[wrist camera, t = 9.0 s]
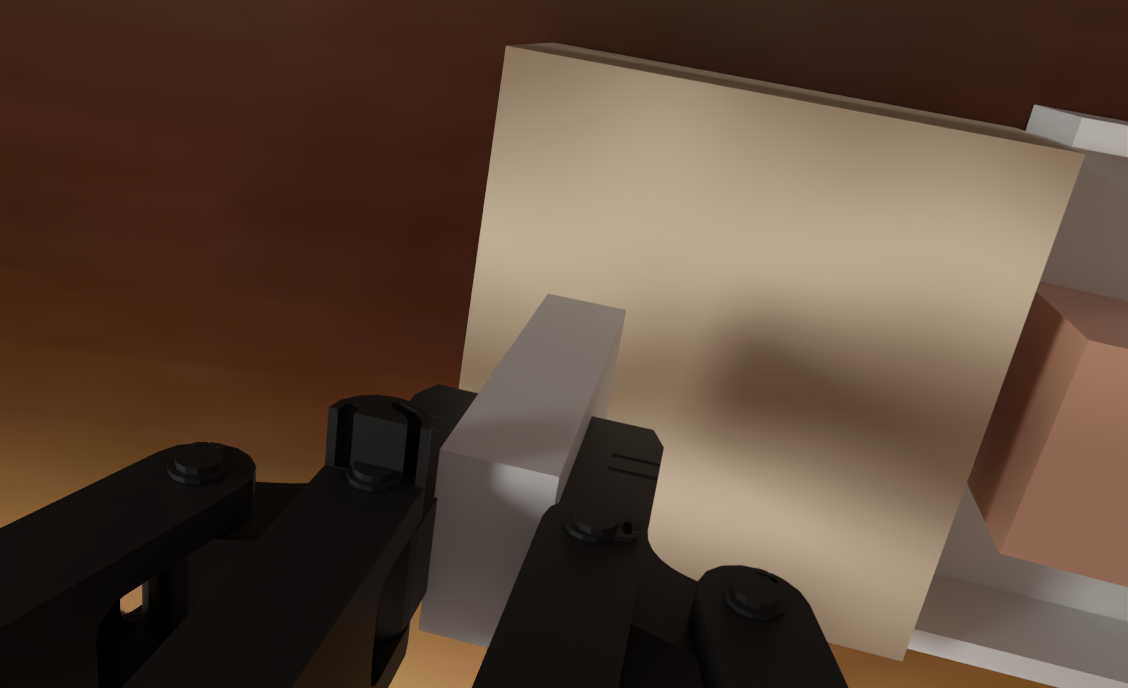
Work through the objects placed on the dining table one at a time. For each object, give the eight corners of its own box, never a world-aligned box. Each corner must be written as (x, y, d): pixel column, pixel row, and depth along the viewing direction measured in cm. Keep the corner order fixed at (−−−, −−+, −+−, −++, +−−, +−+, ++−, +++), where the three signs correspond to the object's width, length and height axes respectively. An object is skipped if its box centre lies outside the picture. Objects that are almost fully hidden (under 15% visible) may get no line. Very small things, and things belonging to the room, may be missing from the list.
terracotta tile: (1088, 339, 18) (1249, 377, 18) (1021, 277, 23) (1147, 306, 23) (999, 553, 20) (1143, 591, 20) (953, 455, 25) (1070, 484, 24)
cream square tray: (555, 42, 24) (506, 45, 19) (1017, 128, 22) (1085, 153, 18) (490, 456, 28) (437, 540, 23) (876, 550, 26) (902, 661, 22)
